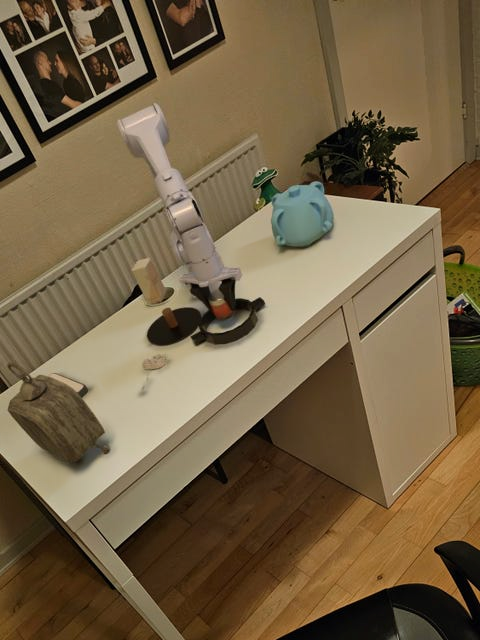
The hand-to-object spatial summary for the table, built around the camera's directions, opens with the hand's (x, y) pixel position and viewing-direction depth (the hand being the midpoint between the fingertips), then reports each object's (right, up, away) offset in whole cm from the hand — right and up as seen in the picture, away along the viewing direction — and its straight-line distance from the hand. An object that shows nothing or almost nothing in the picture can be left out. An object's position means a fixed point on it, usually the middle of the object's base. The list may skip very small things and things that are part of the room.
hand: (222, 308), depth 124 cm
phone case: (-40, -19, +8) cm, 45 cm away
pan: (+2, -4, +4) cm, 6 cm away
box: (-19, +8, +25) cm, 32 cm away
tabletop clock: (-29, -33, -11) cm, 45 cm away
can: (+1, -1, +1) cm, 2 cm away
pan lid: (-12, -2, +11) cm, 17 cm away
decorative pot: (+22, +24, +22) cm, 39 cm away
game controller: (-17, -15, +1) cm, 23 cm away
